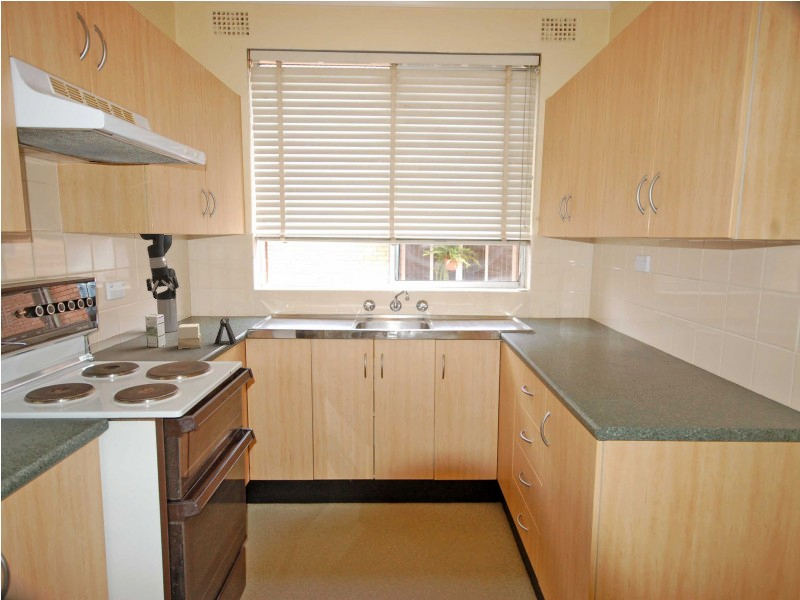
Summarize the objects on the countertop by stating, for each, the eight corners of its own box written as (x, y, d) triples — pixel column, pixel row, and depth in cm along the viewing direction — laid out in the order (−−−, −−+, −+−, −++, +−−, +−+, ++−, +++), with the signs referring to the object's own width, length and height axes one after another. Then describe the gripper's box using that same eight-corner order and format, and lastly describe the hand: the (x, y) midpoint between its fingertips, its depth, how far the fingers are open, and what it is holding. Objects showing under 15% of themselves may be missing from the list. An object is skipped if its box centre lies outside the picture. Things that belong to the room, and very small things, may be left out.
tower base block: (180, 345, 223) (180, 334, 223) (201, 344, 226) (201, 333, 225) (178, 349, 215) (177, 338, 214) (200, 348, 217) (199, 337, 217)
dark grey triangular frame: (214, 344, 224) (213, 319, 223) (216, 341, 230) (215, 317, 228) (234, 344, 226) (233, 318, 224) (236, 341, 231) (235, 316, 230)
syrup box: (166, 344, 223) (164, 313, 221) (158, 347, 217) (156, 316, 215) (154, 344, 224) (152, 313, 222) (146, 347, 218) (144, 315, 216)
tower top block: (181, 335, 222) (180, 324, 222) (199, 334, 225) (199, 323, 224) (178, 338, 215) (178, 327, 214) (198, 337, 217) (197, 326, 217)
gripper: (176, 263, 239) (182, 295, 243) (147, 265, 238) (153, 297, 242) (170, 266, 231) (177, 298, 235) (140, 268, 231) (147, 301, 235)
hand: (165, 298), depth 239 cm, fingers open, 8 cm apart
